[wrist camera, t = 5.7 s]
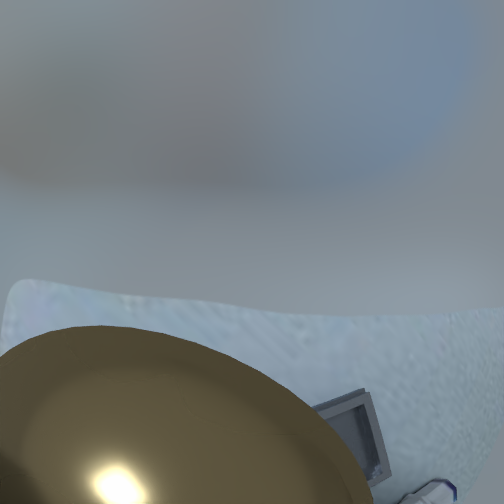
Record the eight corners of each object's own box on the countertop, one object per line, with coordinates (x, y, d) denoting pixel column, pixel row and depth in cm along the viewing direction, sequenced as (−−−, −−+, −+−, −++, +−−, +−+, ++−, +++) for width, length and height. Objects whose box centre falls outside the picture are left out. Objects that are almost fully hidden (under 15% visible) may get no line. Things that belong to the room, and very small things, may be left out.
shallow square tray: (286, 512, 15) (293, 521, 13) (259, 422, 18) (263, 424, 16) (381, 472, 16) (395, 476, 14) (358, 389, 20) (371, 386, 18)
